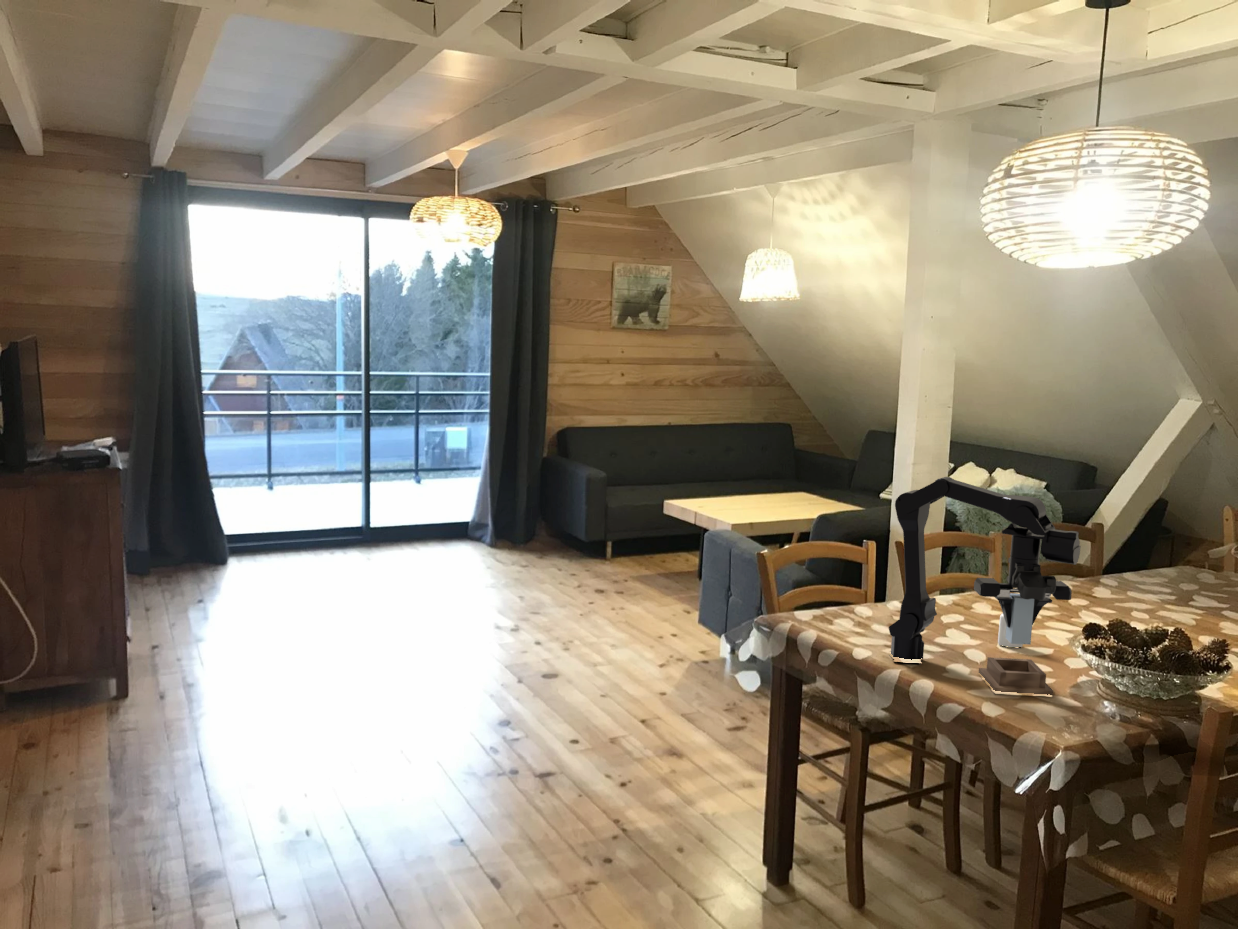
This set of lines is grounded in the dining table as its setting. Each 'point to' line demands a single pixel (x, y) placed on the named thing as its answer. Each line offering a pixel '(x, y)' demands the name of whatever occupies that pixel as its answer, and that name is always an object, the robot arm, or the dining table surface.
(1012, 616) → the slate peg
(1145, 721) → the dining table surface
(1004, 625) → the eye dropper bottle
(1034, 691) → the walnut holder
